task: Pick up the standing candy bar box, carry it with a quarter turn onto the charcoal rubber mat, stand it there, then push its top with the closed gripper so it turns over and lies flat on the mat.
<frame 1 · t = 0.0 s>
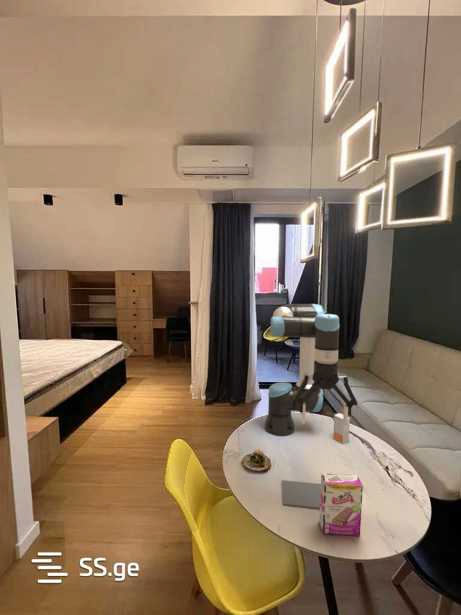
hand: (324, 423, 98), 28 cm above the table, fingers open, 13 cm apart
mat: (314, 496, 103), on the table
skincare box: (341, 440, 140), on the table
candy bar box: (339, 530, 89), on the table
plate of food: (256, 465, 121), on the table
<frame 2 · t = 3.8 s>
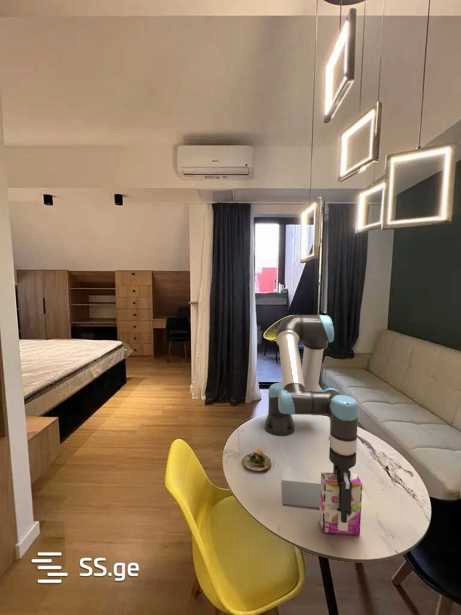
hand: (340, 521, 89), 2 cm above the table, fingers closed on candy bar box, 5 cm apart
candy bar box: (339, 529, 89), on the table, touching gripper
everything else where it was.
when the fingers open (4 cm above the table, at t = 10.2 s): candy bar box drops 1 cm, resting on mat.
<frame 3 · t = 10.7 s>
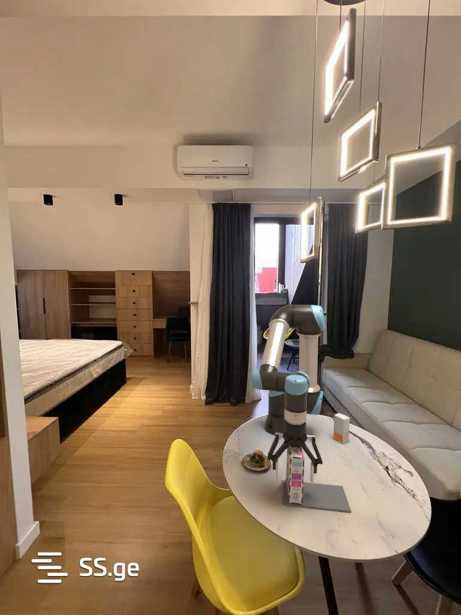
hand: (294, 479, 104), 5 cm above the table, fingers open, 11 cm apart
candy bar box: (294, 493, 104), resting on mat
everything else where it was.
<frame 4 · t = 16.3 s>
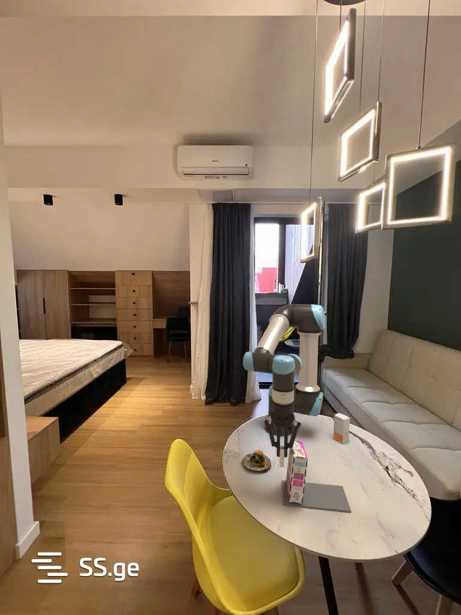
hand: (281, 465, 104), 10 cm above the table, fingers closed
candy bar box: (294, 492, 104), point 1 cm above the table, touching gripper, mat
everything else where it was.
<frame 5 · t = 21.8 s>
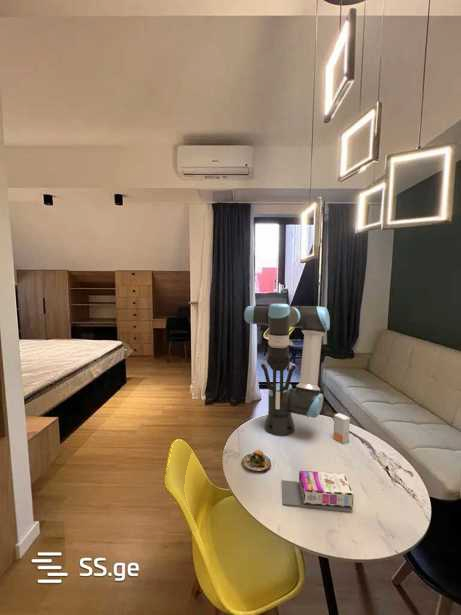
hand: (277, 407, 110), 28 cm above the table, fingers closed
candy bar box: (300, 486, 104), point 3 cm above the table, touching mat
everything else where it was.
at the end: candy bar box tilted 89°; candy bar box inside the target area (6.8 cm from its centre), point 3.0 cm above the table; the gripper is holding nothing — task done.
